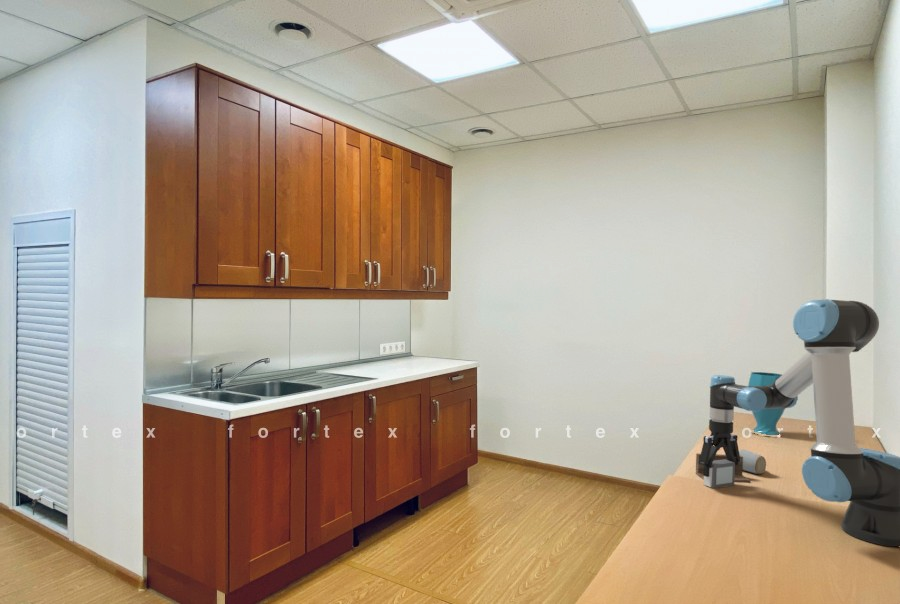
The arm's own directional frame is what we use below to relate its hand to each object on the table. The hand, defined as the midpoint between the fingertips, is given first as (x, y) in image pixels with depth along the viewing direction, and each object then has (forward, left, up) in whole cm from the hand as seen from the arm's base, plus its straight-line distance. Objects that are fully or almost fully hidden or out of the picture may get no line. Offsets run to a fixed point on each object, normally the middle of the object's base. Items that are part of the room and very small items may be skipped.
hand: (719, 484), depth 188 cm
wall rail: (+8, -5, 0) cm, 10 cm away
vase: (+84, -62, -1) cm, 104 cm away
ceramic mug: (+18, -21, -1) cm, 28 cm away
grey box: (0, 0, 0) cm, 0 cm away
